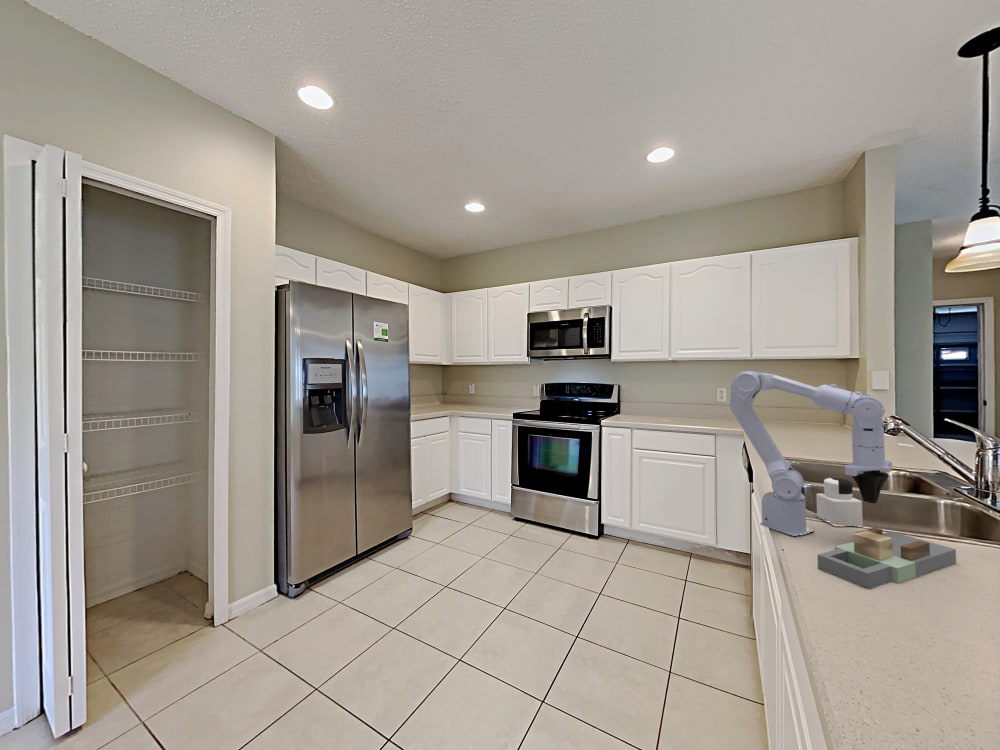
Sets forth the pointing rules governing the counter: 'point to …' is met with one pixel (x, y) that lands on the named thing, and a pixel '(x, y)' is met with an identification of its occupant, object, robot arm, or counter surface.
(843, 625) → the counter surface
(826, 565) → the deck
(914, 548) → the brown rectangular blocks
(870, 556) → the maple block
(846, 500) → the white stepped box
